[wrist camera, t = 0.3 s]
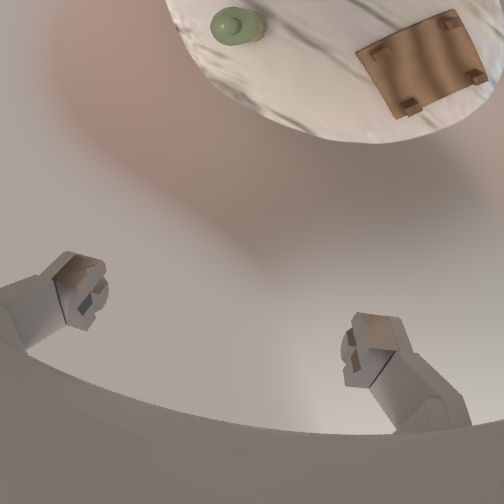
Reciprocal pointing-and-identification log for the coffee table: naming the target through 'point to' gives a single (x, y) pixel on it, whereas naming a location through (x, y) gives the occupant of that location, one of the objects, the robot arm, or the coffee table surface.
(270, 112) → the coffee table surface
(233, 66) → the coffee table surface
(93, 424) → the robot arm
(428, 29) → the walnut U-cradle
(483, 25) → the coffee table surface
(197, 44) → the coffee table surface
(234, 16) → the olive glass bottle
